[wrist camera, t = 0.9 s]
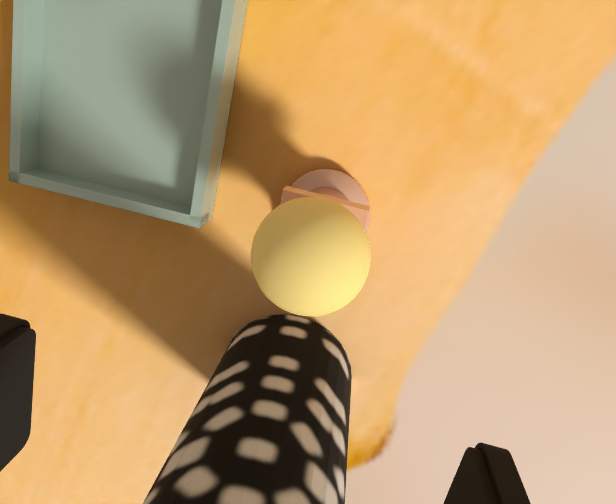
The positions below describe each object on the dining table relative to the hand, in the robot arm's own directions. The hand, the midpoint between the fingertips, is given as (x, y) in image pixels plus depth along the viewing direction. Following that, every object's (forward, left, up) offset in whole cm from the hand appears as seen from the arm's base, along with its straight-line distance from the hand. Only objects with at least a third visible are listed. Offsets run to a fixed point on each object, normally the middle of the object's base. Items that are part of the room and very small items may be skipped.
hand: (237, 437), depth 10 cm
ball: (0, 0, -14) cm, 14 cm away
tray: (-6, -12, -19) cm, 24 cm away
